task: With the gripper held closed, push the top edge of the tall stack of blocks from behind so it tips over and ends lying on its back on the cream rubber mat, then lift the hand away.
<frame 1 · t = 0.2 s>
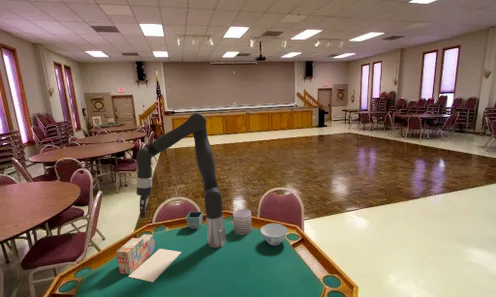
hand: (143, 214, 136), 23 cm above the table, tool pointing down, fingers open, 8 cm apart
flower pot: (195, 227, 168), on the table
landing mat: (156, 264, 131), on the table
chinaware: (274, 242, 146), on the table
can: (243, 230, 161), on the table
stack of blocks: (138, 261, 134), on the table
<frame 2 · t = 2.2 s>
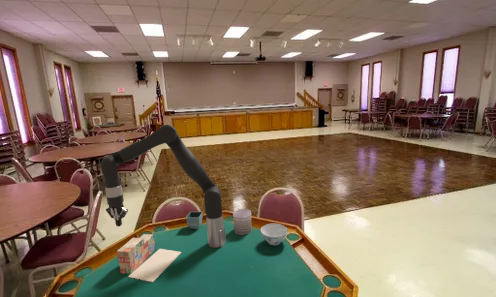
hand: (119, 225, 134), 19 cm above the table, tool pointing down, fingers closed
nothing on the table moved.
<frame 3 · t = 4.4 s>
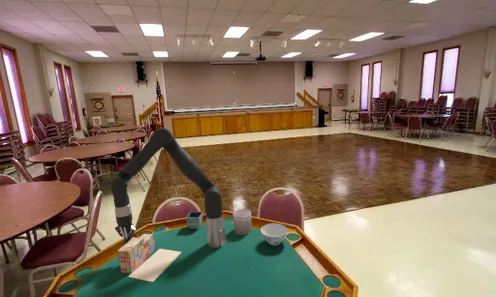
hand: (128, 243, 134), 9 cm above the table, tool pointing down, fingers closed
stack of blocks: (139, 260, 135), on the table, touching gripper
everything else where it was.
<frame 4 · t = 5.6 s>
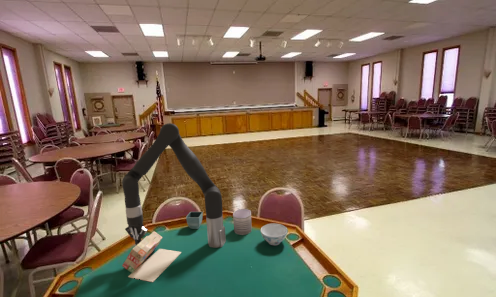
hand: (138, 245, 132), 9 cm above the table, tool pointing down, fingers closed
stack of blocks: (139, 257, 134), point 2 cm above the table
everything else where it was.
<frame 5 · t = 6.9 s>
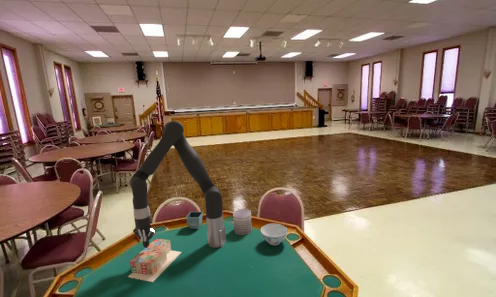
hand: (146, 246, 131), 9 cm above the table, tool pointing down, fingers closed
stack of blocks: (143, 254, 134), point 4 cm above the table, touching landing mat
everything else where it was.
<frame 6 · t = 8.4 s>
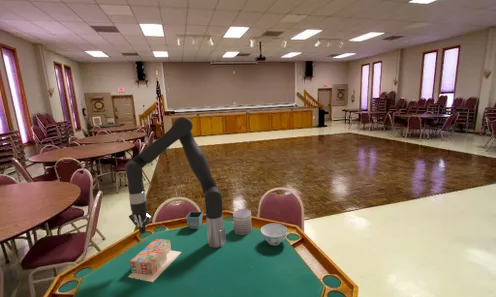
hand: (142, 232, 129), 17 cm above the table, tool pointing down, fingers closed
nothing on the table moved.
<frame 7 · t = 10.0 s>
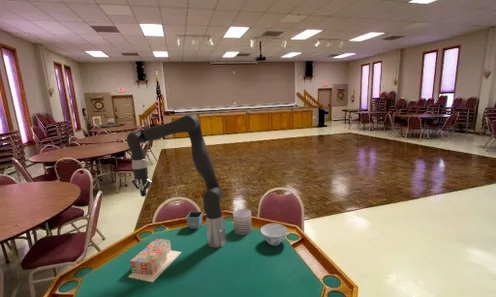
hand: (143, 196, 147), 29 cm above the table, tool pointing down, fingers closed
nothing on the table moved.
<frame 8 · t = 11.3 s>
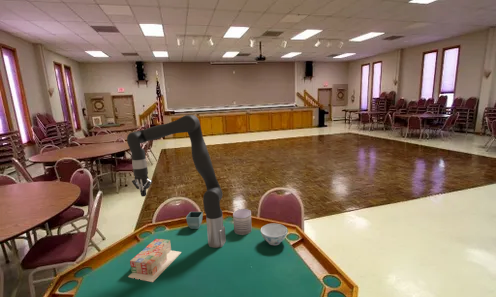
hand: (143, 196, 147), 29 cm above the table, tool pointing down, fingers closed
nothing on the table moved.
at the end: stack of blocks tilted 90°; stack of blocks inside the target area (1.9 cm from its centre), point 3.5 cm above the table; stack of blocks touching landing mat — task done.
